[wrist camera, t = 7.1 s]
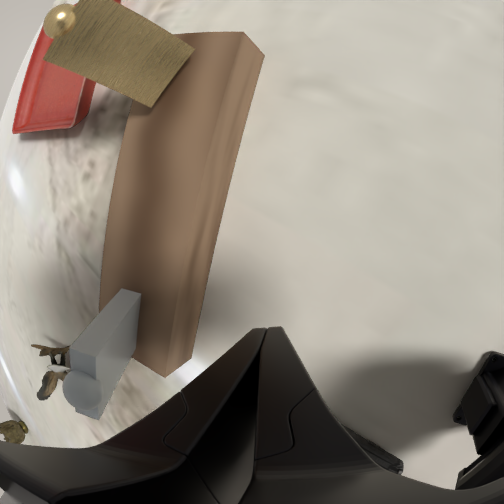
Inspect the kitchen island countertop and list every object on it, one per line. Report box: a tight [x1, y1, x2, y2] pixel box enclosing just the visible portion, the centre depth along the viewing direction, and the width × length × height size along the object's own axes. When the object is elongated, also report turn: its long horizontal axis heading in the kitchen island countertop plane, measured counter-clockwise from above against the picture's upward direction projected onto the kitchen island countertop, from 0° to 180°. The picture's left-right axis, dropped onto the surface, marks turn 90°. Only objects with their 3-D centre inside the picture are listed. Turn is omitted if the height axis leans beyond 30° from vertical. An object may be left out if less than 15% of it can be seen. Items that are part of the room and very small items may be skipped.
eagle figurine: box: [31, 345, 70, 400], centre depth 33 cm, size 8×7×9 cm
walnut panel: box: [99, 32, 265, 378], centre depth 23 cm, size 8×26×4 cm, turn 165°
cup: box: [0, 420, 28, 444], centre depth 50 cm, size 8×7×8 cm
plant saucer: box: [12, 0, 121, 134], centre depth 28 cm, size 18×18×3 cm
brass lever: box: [42, 0, 195, 108], centre depth 14 cm, size 2×5×10 cm, turn 138°
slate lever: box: [63, 289, 141, 420], centre depth 18 cm, size 2×5×10 cm, turn 165°
